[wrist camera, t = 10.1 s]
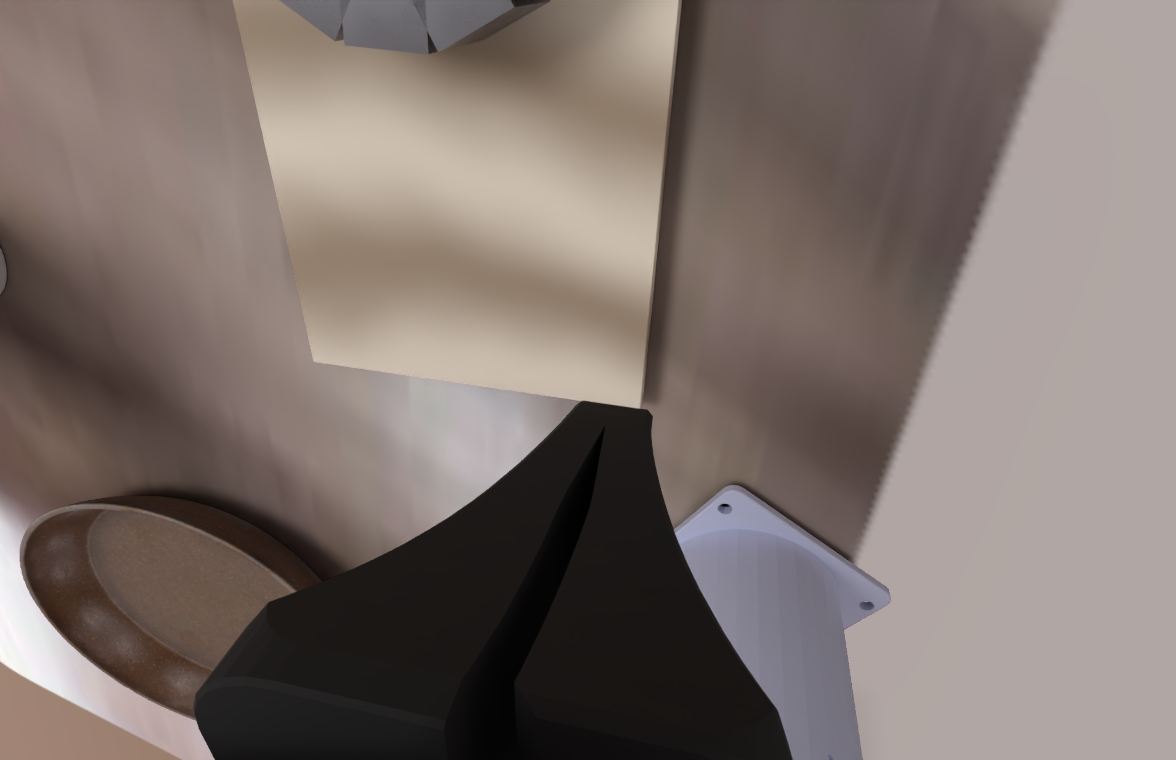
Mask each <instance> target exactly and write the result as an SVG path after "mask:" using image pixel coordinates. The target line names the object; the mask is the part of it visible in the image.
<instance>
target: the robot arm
mask: <svg viewBox="0 0 1176 760" xmlns="http://www.w3.org/2000/svg"><path fill="white" fill-rule="evenodd" d="M652 419H653V416H652V415H651V413H650V412H649V411H648V410H645V409H638V408H632V407H625V406H618V405H611V404H604V403H597V402H591V401H584V400H583V401H581V402H580V403H578V404H577V405H576V406H575V407H574V408H573V409H572V411H571V412H570V413H569V414H568V415H567V416H566V417H565V418H564V419H563V420H562V422H561V423H560V424H559V425H558V426H557V427H556V428H555V429H554V430H553V431H552V432H551V433H550V434H549V435H548V436H547V437H546V438H545V439H544V440H543V441H542V442H541V443H540V444H539V445H538V446H537V447H536V448H535V449H534V450H533V451H532V452H530V453H529V454H528V455H527V456H526V457H525V458H524V459H523V460H522V461H521V462H520V463H519V464H518V465H516V466H515V467H514V468H513V469H512V470H510V471H509V472H508V473H507V474H506V475H504V476H503V477H502V478H501V479H500V480H498V481H497V482H496V483H495V484H494V485H492V486H491V487H490V488H489V489H487V490H486V491H485V492H484V493H482V494H481V495H480V496H478V497H477V498H476V499H474V500H473V501H472V502H470V503H469V504H467V505H466V506H464V507H463V508H462V509H460V510H459V511H457V512H456V513H454V514H453V515H451V516H450V517H448V518H447V519H445V520H444V521H442V522H440V523H439V524H437V525H436V526H434V527H432V528H431V529H429V530H427V531H426V532H424V533H422V534H420V535H419V536H417V537H415V538H413V539H412V540H410V541H408V542H407V543H405V544H403V545H401V546H399V547H397V548H395V549H393V550H391V551H389V552H387V553H385V554H383V555H381V556H379V557H377V558H375V559H373V560H371V561H369V562H367V563H365V564H362V565H360V566H358V567H356V568H354V569H352V570H349V571H347V572H345V573H342V574H340V575H338V576H335V577H333V578H331V579H328V580H325V581H323V582H320V583H318V584H315V585H312V586H310V587H307V588H305V589H302V590H299V591H297V592H294V593H292V594H289V595H286V596H284V597H281V598H278V599H275V600H272V601H270V602H268V603H267V604H266V606H265V607H264V608H263V609H262V610H261V611H260V612H259V614H258V615H257V616H256V617H255V618H254V619H253V620H252V621H251V622H250V623H249V625H248V626H247V627H246V628H245V629H244V631H243V632H242V633H241V635H240V636H239V637H238V638H237V640H236V641H235V642H234V644H233V645H232V646H231V648H230V649H229V650H228V652H227V653H226V654H225V656H224V657H223V658H222V660H221V661H220V662H219V664H218V665H217V666H216V668H215V669H214V670H213V672H212V673H211V674H210V676H209V677H208V678H207V679H206V681H205V682H204V683H203V685H202V686H201V687H200V689H199V690H198V691H197V693H196V694H195V700H194V707H193V708H194V714H195V718H196V721H197V724H198V727H199V730H200V732H201V734H202V736H203V738H204V739H205V741H206V743H207V745H208V747H209V749H210V751H211V753H212V755H213V757H214V759H215V760H863V759H862V753H861V746H860V739H859V732H858V725H857V718H856V711H855V704H854V698H853V690H852V684H851V677H850V670H849V663H848V656H847V649H846V642H845V636H844V630H845V629H846V628H848V627H850V626H852V625H853V624H855V623H857V622H859V621H860V620H862V619H863V618H866V617H867V616H869V615H871V614H872V613H874V612H876V611H878V610H879V609H881V608H883V607H885V606H886V605H888V604H889V603H890V600H891V598H890V593H889V590H888V588H887V587H886V586H884V585H883V584H881V583H880V582H878V581H877V580H875V579H874V578H872V577H871V576H870V575H868V574H867V573H865V572H864V571H863V570H861V569H859V568H858V567H857V566H855V565H854V564H852V563H851V562H850V561H848V560H847V559H845V558H844V557H842V556H841V555H839V554H838V553H837V552H835V551H834V550H832V549H831V548H829V547H828V546H827V545H825V544H824V543H822V542H821V541H819V540H818V539H816V538H815V537H814V536H812V535H811V534H809V533H808V532H806V531H805V530H803V529H802V528H801V527H799V526H798V525H796V524H795V523H793V522H792V521H790V520H789V519H788V518H786V517H785V516H783V515H782V514H780V513H779V512H778V511H776V510H775V509H773V508H772V507H770V506H769V505H767V504H766V503H765V502H763V501H762V500H760V499H759V498H757V497H756V496H754V495H753V494H752V493H750V492H749V491H747V490H746V489H744V488H743V487H741V486H738V485H729V486H726V487H725V488H723V489H722V490H721V491H720V492H718V493H717V494H716V495H715V496H714V497H712V498H711V499H710V500H709V501H708V502H706V503H705V504H704V505H703V506H702V507H700V508H699V509H698V510H697V511H696V512H694V513H693V514H692V515H691V516H690V517H688V518H687V519H686V520H685V521H684V522H682V523H681V524H680V525H679V526H678V527H676V528H675V529H673V526H672V524H671V521H670V518H669V515H668V511H667V508H666V505H665V502H664V499H663V495H662V492H661V488H660V483H659V479H658V475H657V471H656V467H655V461H654V456H653V448H652V439H651V428H652ZM721 504H728V505H730V506H729V507H723V506H720V505H721ZM864 601H869V602H864Z"/></svg>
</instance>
